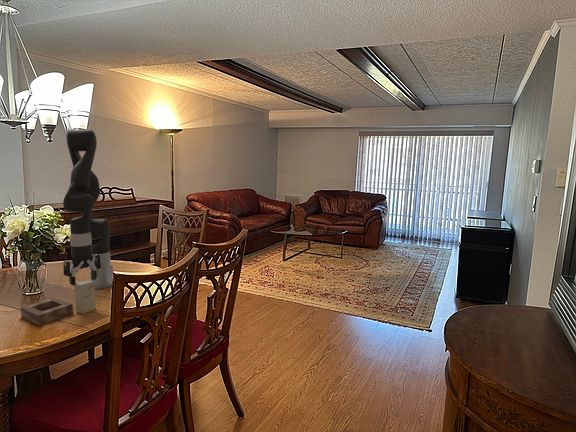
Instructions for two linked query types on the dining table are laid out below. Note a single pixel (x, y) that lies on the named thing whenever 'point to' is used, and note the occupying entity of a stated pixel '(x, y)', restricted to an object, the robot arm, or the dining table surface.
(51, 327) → the dining table surface
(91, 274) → the robot arm
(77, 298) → the skincare box
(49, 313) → the grey flat hollow block
